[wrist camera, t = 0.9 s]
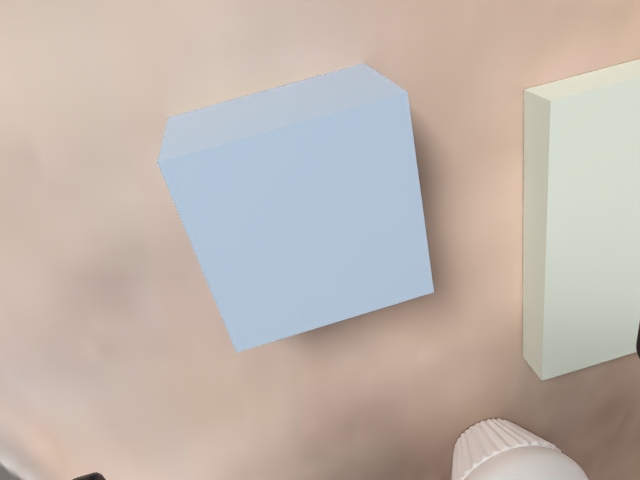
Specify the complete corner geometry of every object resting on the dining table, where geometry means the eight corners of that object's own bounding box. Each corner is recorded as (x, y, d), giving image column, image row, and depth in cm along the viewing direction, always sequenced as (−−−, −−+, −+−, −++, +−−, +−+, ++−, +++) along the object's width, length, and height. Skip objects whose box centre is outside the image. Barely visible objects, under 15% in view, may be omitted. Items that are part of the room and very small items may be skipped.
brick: (362, 62, 15) (407, 92, 12) (391, 229, 18) (434, 292, 15) (168, 115, 15) (157, 162, 12) (231, 277, 18) (236, 352, 15)
